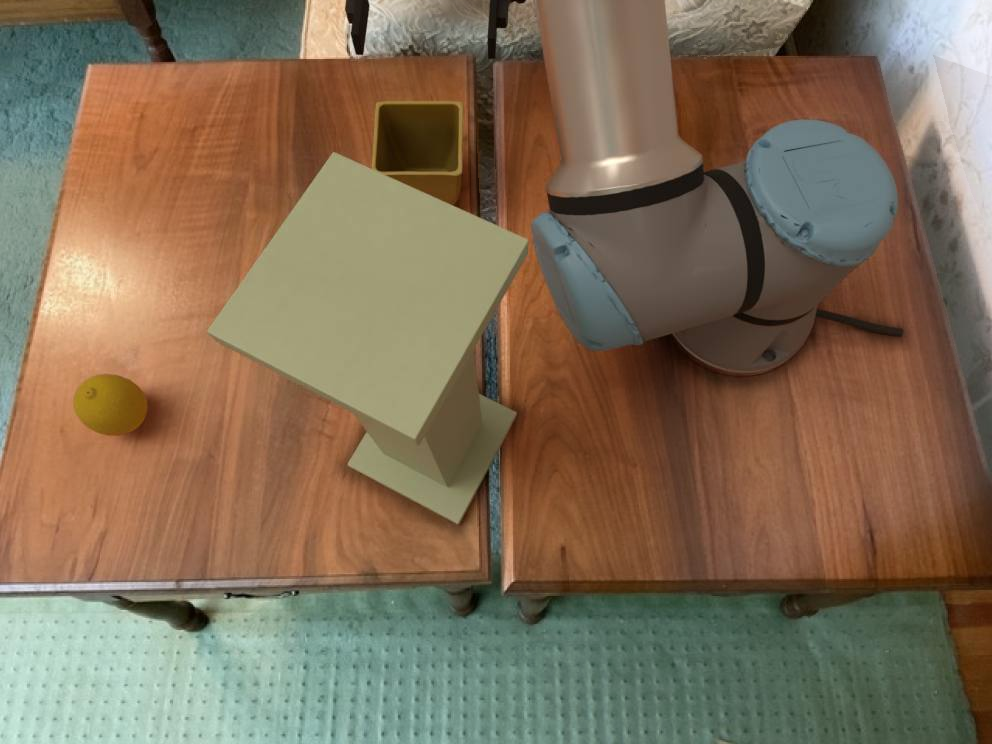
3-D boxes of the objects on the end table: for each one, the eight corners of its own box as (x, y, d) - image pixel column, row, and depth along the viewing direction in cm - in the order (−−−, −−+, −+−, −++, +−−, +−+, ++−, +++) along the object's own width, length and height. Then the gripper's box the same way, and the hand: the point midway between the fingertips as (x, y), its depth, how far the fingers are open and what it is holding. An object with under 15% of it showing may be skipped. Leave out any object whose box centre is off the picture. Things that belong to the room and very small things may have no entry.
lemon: (102, 446, 68) (51, 425, 60) (108, 391, 69) (60, 364, 62) (159, 442, 68) (116, 420, 60) (164, 388, 69) (122, 360, 62)
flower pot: (467, 155, 78) (463, 99, 70) (466, 223, 75) (462, 173, 67) (389, 156, 78) (375, 100, 70) (385, 224, 75) (370, 174, 67)
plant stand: (517, 415, 68) (529, 239, 36) (458, 525, 65) (415, 440, 33) (411, 362, 70) (333, 150, 38) (348, 466, 67) (205, 331, 35)
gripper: (549, -72, 80) (545, 77, 73) (334, -77, 81) (310, 70, 74) (554, -138, 73) (550, 20, 66) (318, -143, 74) (290, 13, 67)
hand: (424, 47), depth 70 cm, fingers open, 13 cm apart
